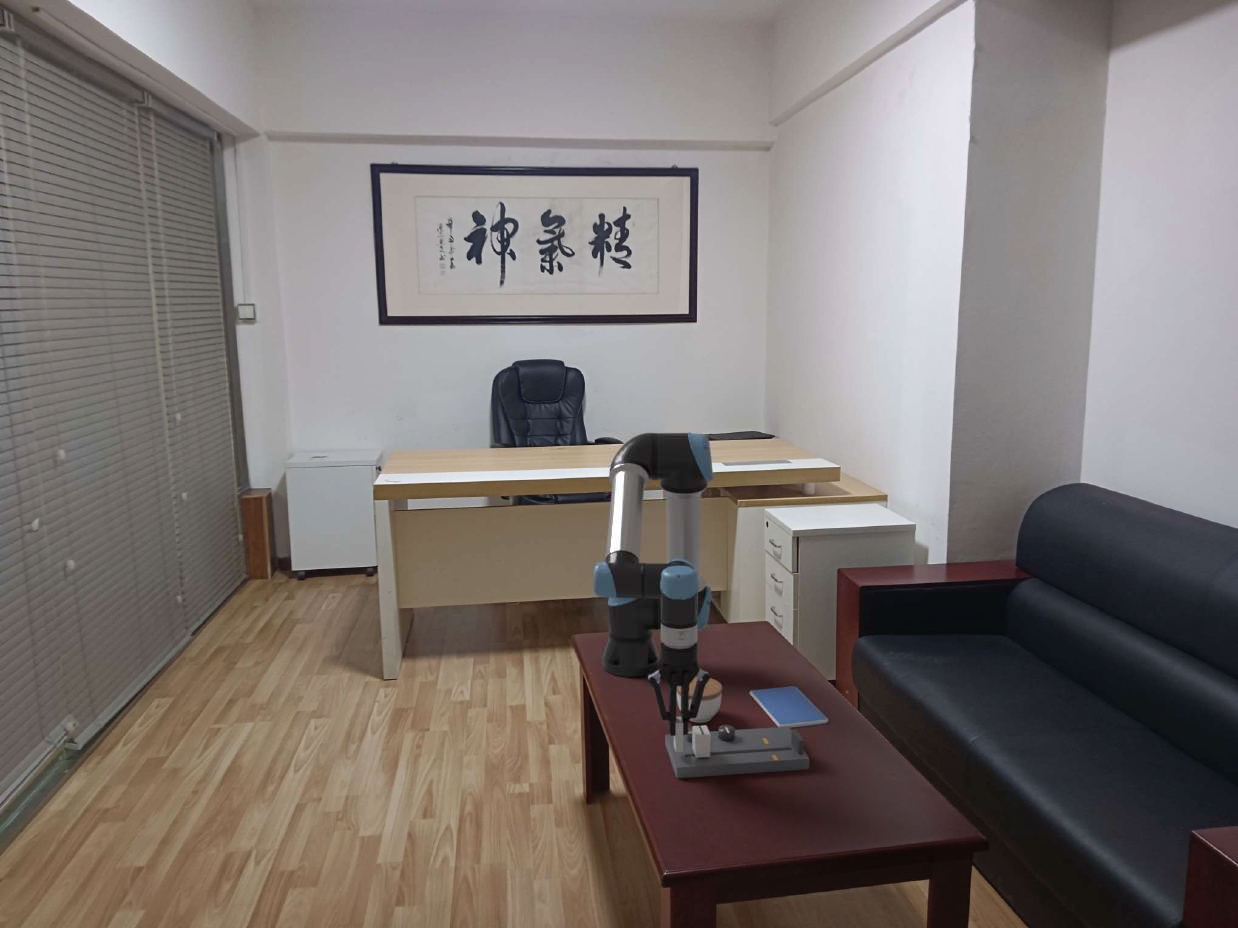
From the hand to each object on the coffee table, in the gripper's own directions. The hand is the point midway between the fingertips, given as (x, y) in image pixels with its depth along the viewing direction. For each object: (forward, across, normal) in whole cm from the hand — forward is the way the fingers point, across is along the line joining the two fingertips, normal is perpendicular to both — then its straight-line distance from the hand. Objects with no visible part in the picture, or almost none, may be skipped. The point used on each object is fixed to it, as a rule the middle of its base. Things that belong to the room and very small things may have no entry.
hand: (678, 748), depth 187 cm
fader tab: (+1, +5, 0) cm, 5 cm away
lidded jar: (+4, +9, +22) cm, 24 cm away
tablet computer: (+5, +31, +24) cm, 39 cm away
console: (+4, +13, +3) cm, 14 cm away
